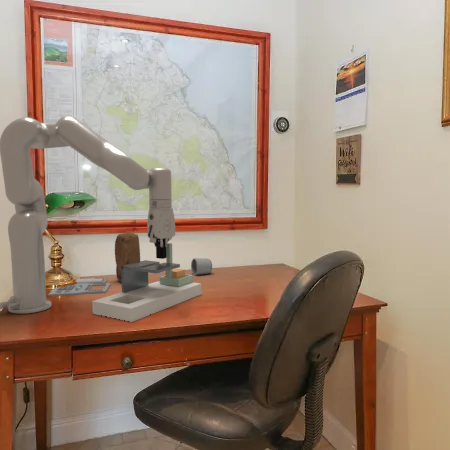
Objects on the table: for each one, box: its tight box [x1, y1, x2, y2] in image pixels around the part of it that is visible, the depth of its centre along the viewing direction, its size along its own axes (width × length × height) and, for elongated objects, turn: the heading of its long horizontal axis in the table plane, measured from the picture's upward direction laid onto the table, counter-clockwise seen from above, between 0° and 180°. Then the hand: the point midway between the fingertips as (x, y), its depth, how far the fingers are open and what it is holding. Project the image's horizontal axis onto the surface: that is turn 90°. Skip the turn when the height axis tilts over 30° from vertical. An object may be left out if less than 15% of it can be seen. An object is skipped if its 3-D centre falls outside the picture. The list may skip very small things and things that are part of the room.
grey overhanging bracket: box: [121, 259, 181, 293], centre depth 137 cm, size 12×15×9 cm
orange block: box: [164, 268, 186, 279], centre depth 148 cm, size 5×5×5 cm
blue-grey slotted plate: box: [47, 277, 111, 297], centre depth 160 cm, size 23×3×20 cm
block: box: [114, 232, 141, 283], centre depth 169 cm, size 11×8×20 cm
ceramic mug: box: [190, 257, 213, 276], centre depth 186 cm, size 10×8×7 cm
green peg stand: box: [159, 242, 194, 287], centre depth 148 cm, size 9×9×15 cm
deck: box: [92, 280, 202, 323], centre depth 137 cm, size 36×16×4 cm, turn 149°
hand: (161, 258), depth 141 cm, fingers closed
